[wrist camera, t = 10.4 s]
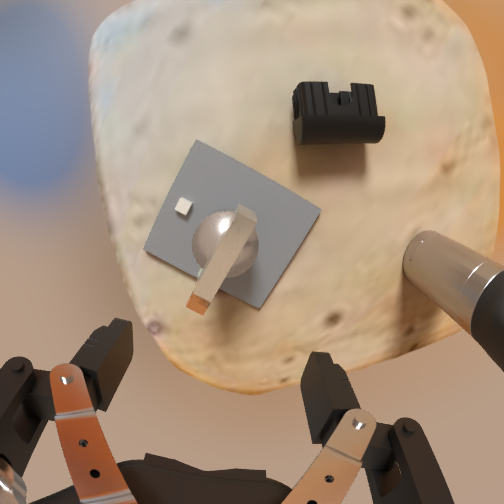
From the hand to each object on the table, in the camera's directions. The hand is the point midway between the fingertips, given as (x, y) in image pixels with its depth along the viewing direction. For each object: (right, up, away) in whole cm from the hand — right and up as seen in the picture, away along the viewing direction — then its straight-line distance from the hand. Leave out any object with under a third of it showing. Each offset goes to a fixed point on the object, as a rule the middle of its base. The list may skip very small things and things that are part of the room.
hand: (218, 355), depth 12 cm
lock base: (-1, +8, +25) cm, 26 cm away
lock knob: (-2, +5, +19) cm, 20 cm away
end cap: (+11, +22, +21) cm, 33 cm away
